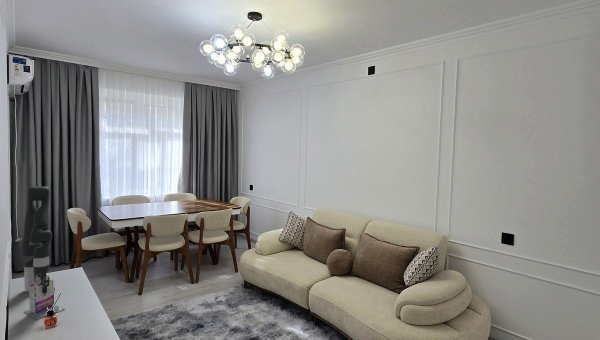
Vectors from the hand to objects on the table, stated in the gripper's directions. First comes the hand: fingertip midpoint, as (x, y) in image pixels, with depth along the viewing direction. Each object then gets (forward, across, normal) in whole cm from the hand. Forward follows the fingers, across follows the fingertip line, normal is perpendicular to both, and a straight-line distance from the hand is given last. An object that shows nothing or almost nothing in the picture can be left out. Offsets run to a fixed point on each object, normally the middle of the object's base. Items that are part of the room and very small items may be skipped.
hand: (41, 291), depth 195 cm
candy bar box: (+11, 0, 0) cm, 11 cm away
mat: (+11, +3, 0) cm, 12 cm away
